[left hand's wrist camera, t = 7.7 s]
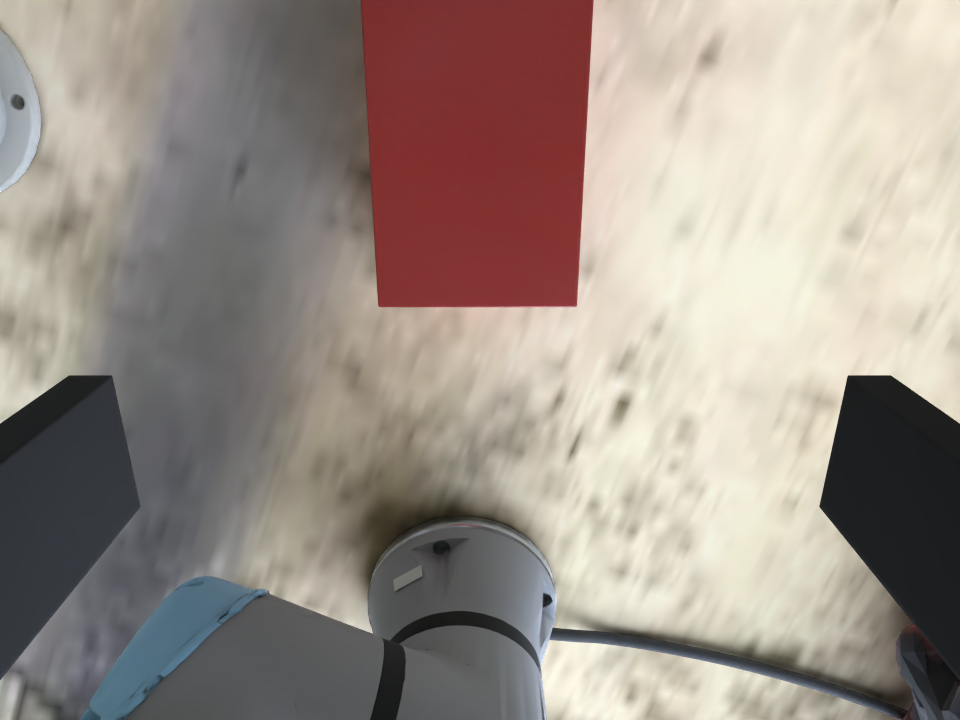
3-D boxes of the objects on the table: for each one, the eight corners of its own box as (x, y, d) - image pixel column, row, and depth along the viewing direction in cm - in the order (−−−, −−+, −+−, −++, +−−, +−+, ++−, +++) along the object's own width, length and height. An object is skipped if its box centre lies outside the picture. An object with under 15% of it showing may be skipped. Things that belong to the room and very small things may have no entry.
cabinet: (384, -39, 40) (356, -79, 31) (570, -39, 40) (597, -79, 31) (398, 264, 47) (378, 307, 37) (557, 264, 47) (577, 307, 37)
